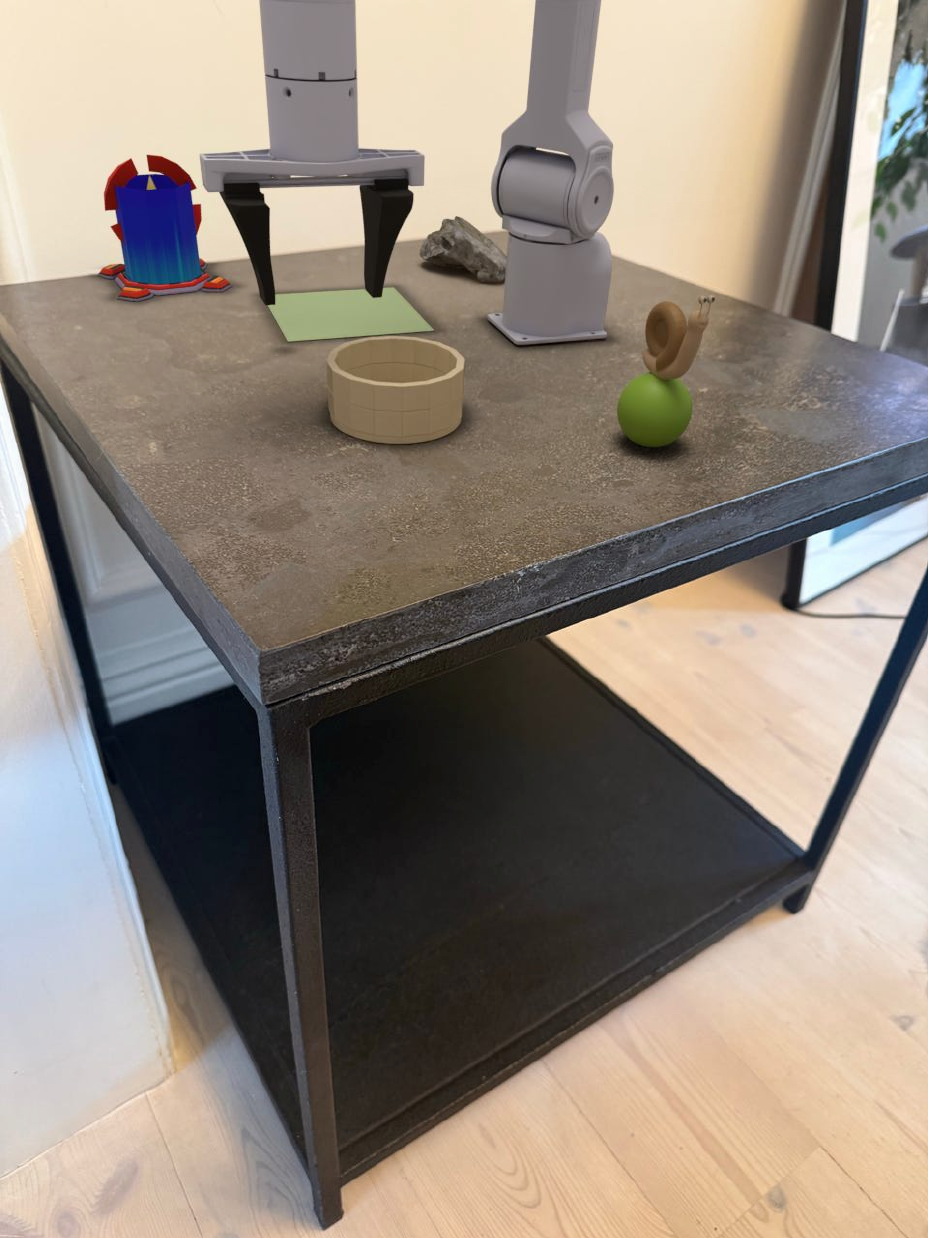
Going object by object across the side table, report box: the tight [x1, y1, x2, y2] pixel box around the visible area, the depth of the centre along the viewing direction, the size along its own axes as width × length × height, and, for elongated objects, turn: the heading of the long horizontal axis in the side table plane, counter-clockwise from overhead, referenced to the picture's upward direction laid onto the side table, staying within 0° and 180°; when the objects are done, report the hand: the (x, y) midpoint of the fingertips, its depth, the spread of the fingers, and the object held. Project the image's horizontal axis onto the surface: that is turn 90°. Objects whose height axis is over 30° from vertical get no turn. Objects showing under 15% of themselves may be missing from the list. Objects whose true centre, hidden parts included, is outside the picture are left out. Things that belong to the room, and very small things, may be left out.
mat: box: [267, 286, 435, 343], centre depth 90 cm, size 14×14×1 cm
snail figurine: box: [616, 294, 716, 448], centre depth 65 cm, size 5×6×12 cm
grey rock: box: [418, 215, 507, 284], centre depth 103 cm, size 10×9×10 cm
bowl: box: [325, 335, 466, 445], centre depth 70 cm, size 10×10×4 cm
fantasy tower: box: [97, 154, 233, 303], centre depth 93 cm, size 12×12×12 cm
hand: (321, 297), depth 65 cm, fingers open, 7 cm apart
